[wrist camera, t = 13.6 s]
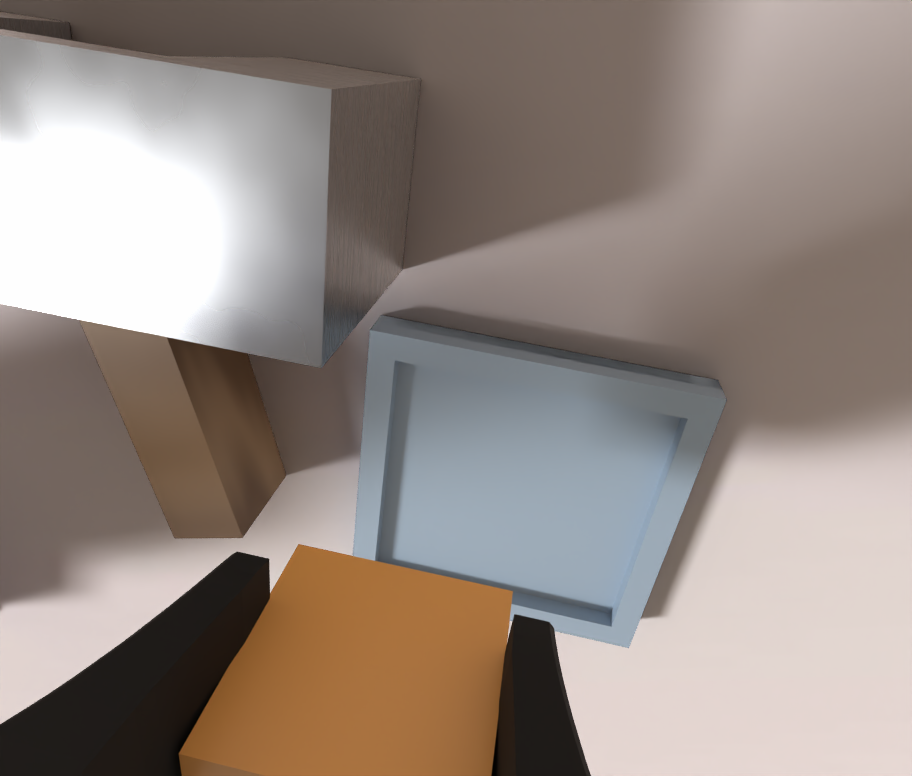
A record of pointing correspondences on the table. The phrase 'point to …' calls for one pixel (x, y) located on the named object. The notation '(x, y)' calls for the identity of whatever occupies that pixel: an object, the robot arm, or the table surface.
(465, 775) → the orange cube
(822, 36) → the table surface
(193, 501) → the push rod
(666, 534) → the tray
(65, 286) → the grey bridge block
